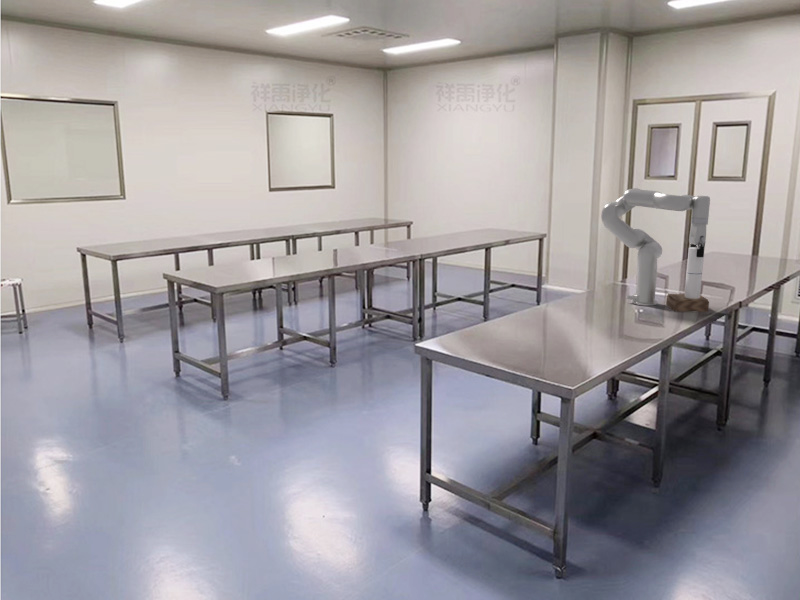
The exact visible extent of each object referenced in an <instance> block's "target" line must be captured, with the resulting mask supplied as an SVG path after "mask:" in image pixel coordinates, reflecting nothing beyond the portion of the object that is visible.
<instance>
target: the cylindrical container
mask: <svg viewBox="0 0 800 600" xmlns="http://www.w3.org/2000/svg"><path fill="white" fill-rule="evenodd" d="M697 249H698V246H697V247H690V246H689V247H688V251H687V252H688V253H687V263H686V264H687V265H686V272H685V273H686V274H685V283H684V284H685V285H684V287H685V288H684V294H685V295H684V297H686V298H690V299H698V298H700V295H701V290H702V281H703V280H702V279H703V267H704V257H705V256H704V257H696V256H697Z"/></svg>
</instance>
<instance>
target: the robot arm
mask: <svg viewBox="0 0 800 600" xmlns="http://www.w3.org/2000/svg"><path fill="white" fill-rule="evenodd" d="M710 205H711V198H710V196H708V195H690V194H683V195H676V194H668V193H662V192H660V191H658V190H657V191H656V190H647V189H646V190H645V189H640V188H638V187H637V188H636V187H635V188H629V189H626V190H625V192H624V193H623V195H622V196H621V197H619V198H618V199H617V200H615V201H611V202H609V203H606V204H605V205H604V207H603V208H602V211H601V214H600V215H601V217H600V218H601V222H602V224H603V226H604V227H605V228H606V230H608V231H609V232H610V233H611V234H612V235H613V236H615V237H616V238H617V239H618V240H619V241H620V242H622V243H623V244H624V245H625V246H626V247H627V248H629V249H637V250H638V252H637V273H636V288H635V293H634V294H633V295H626V296H625V298H626V300H630V301H631V302H632V304H634V305H637V306H638V305H639V306H644V307H646V306H647V307H648V306H649V307H652V306H656V305H659V302H658V301H657V300H655V299H656V289H657V288H656V287H657V275H658V259H659V258H660V257H661V255H663V248H662V246H661V244H660V243H659V242H658V241H657V240H656V239H654V238H653V237H652V236H650V235H649V234H648V233H647V232H646V231H645V230H642V229H640V228H633V227H631V226H630V225H628V223H627V222H625V221H624V220H622V219H621V218H620V217H622V216H623V215H625V214H627V213H628V212H630V211H631V210H632V209H634V208H636V207H642V208H643V207H644V208H651V209H656V210H657V209H660V210H666V211H674V212H685V211H689V210H691V218H690V219H691V220H690V224H691V226H690V230H689V237H688V242H689V248H690V247H698V249H697V256H696V257H705V247H706V242H707V225H709V217H710Z"/></svg>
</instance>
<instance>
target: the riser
mask: <svg viewBox="0 0 800 600" xmlns="http://www.w3.org/2000/svg"><path fill="white" fill-rule="evenodd" d="M684 295H685V293H668V294H667V295H666V300H665V303H666V304H665V305H666V306H667V307H669V309H671V310H672V311H674V312H686V311H689V313H691V312H690V311H698V312H697V313H699V312H700V313H702V312H704V313H706V311H707V313H708V312H709V309H710V308H709V307H710V301H709V299H707V298H706V297H704V296H702V294H700V298H698V299H690V298H686V297H684Z"/></svg>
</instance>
